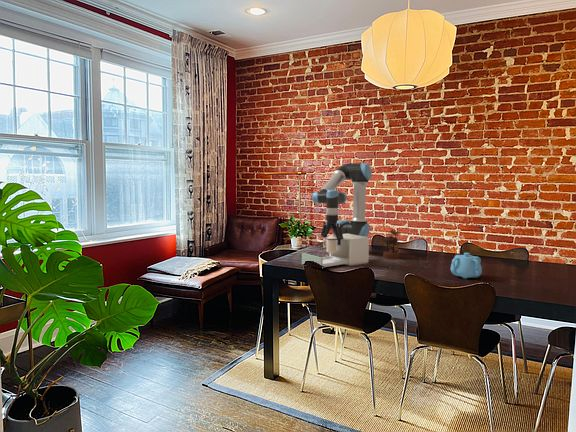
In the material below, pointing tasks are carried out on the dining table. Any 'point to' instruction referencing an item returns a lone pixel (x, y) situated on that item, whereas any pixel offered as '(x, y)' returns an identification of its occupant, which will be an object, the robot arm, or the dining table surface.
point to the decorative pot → (466, 266)
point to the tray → (324, 260)
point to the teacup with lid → (331, 244)
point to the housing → (354, 249)
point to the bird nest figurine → (390, 241)
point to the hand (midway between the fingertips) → (331, 248)
